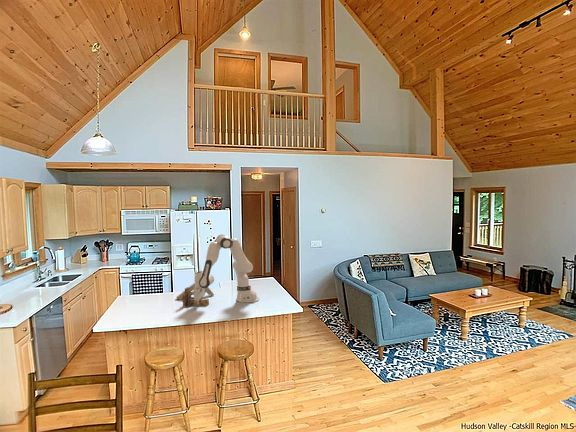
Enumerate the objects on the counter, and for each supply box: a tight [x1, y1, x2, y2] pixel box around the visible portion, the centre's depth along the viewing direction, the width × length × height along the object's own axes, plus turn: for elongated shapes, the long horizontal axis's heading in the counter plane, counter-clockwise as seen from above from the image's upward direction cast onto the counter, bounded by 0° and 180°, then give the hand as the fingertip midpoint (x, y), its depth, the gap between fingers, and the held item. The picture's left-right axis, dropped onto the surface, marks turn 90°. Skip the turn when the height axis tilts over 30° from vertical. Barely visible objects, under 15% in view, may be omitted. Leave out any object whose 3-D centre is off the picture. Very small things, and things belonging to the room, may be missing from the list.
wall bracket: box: [176, 282, 215, 300], centre depth 339 cm, size 22×4×30 cm
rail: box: [190, 296, 210, 306], centre depth 314 cm, size 17×4×6 cm, turn 85°
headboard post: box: [182, 286, 194, 308], centre depth 315 cm, size 7×16×16 cm, turn 175°
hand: (200, 302), depth 314 cm, fingers open, 7 cm apart
